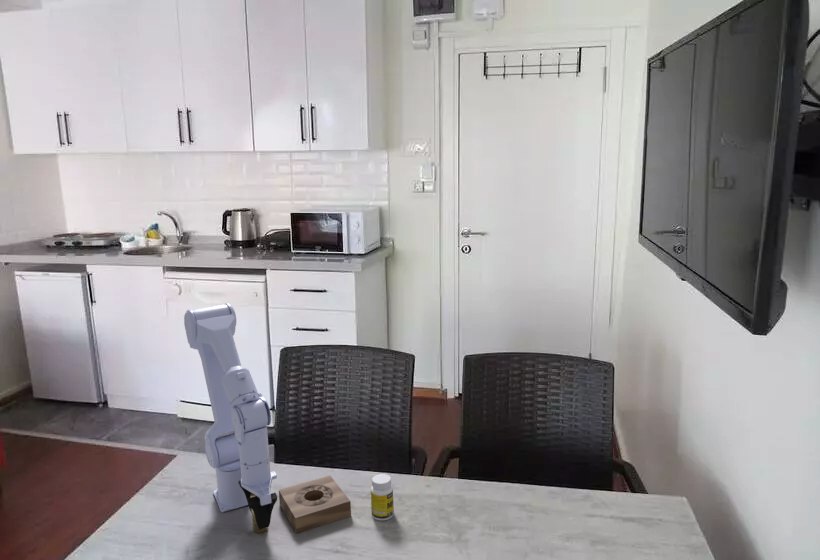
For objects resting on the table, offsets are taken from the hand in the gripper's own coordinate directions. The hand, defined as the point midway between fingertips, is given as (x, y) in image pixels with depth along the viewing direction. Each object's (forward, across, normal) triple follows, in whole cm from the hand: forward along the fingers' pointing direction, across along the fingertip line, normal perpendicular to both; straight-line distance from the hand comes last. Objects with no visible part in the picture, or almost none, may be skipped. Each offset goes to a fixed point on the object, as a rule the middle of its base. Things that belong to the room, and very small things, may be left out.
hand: (259, 519), depth 123 cm
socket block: (+2, +1, -12) cm, 12 cm away
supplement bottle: (+3, -8, -24) cm, 25 cm away
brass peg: (+2, 0, 0) cm, 2 cm away
